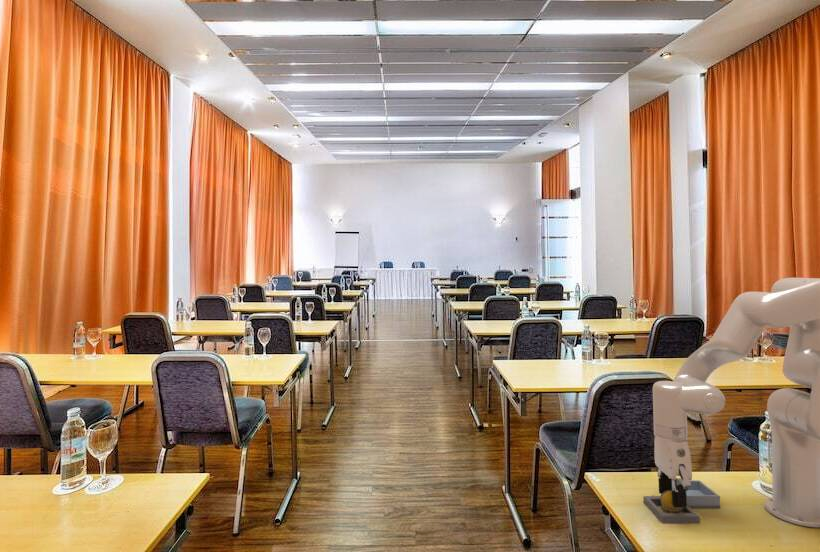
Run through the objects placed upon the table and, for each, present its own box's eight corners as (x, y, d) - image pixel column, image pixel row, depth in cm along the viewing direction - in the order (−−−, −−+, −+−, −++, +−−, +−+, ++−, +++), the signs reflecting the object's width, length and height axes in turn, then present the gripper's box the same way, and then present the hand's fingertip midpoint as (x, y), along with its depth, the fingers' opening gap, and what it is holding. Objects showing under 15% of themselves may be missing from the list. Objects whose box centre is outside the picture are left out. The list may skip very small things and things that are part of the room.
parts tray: (699, 491, 128) (699, 480, 128) (720, 507, 119) (719, 496, 119) (667, 491, 129) (666, 480, 129) (684, 507, 120) (684, 496, 120)
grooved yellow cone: (690, 512, 117) (686, 497, 112) (670, 520, 118) (665, 506, 112) (677, 492, 122) (673, 477, 116) (657, 499, 123) (652, 485, 117)
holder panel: (677, 502, 122) (677, 496, 122) (699, 523, 112) (699, 516, 112) (643, 502, 123) (643, 496, 123) (662, 523, 113) (662, 516, 113)
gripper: (705, 442, 108) (707, 517, 109) (667, 419, 126) (669, 484, 126) (673, 443, 109) (675, 518, 109) (639, 419, 126) (641, 484, 126)
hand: (672, 499), depth 117 cm, fingers closed on grooved yellow cone, 6 cm apart
